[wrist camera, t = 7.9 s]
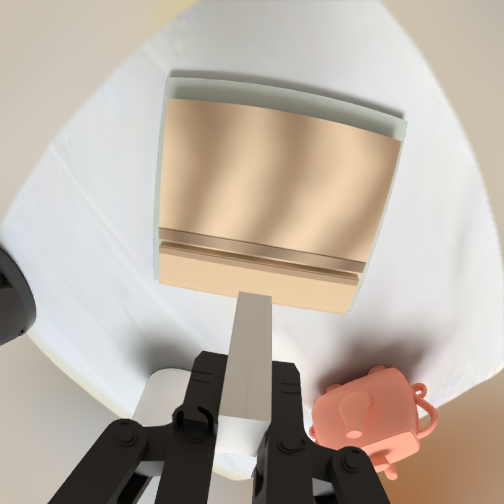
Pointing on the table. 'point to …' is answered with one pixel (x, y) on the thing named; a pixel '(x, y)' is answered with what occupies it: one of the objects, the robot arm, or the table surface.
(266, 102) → the pad
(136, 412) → the cup
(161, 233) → the board
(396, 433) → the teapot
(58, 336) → the table surface
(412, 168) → the table surface
